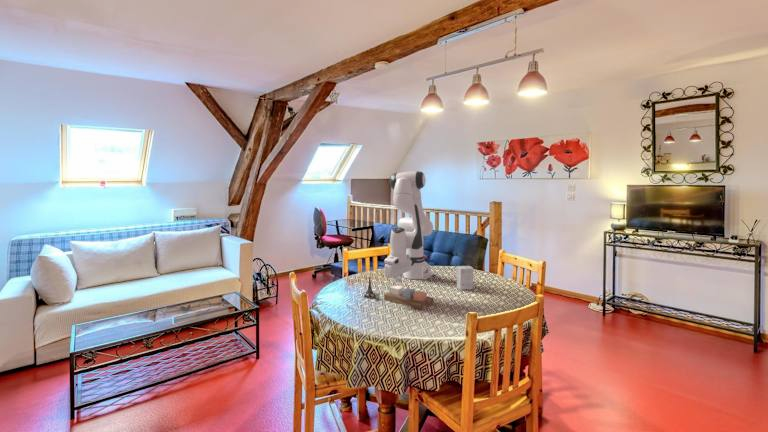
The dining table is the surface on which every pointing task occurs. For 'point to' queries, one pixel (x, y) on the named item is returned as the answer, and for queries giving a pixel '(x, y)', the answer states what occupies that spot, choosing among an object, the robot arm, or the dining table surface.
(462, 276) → the small box
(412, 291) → the slate key
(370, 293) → the eiffel tower figurine
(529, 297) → the dining table surface
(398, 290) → the cream cube
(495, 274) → the dining table surface
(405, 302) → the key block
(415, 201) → the robot arm
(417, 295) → the peach cube
